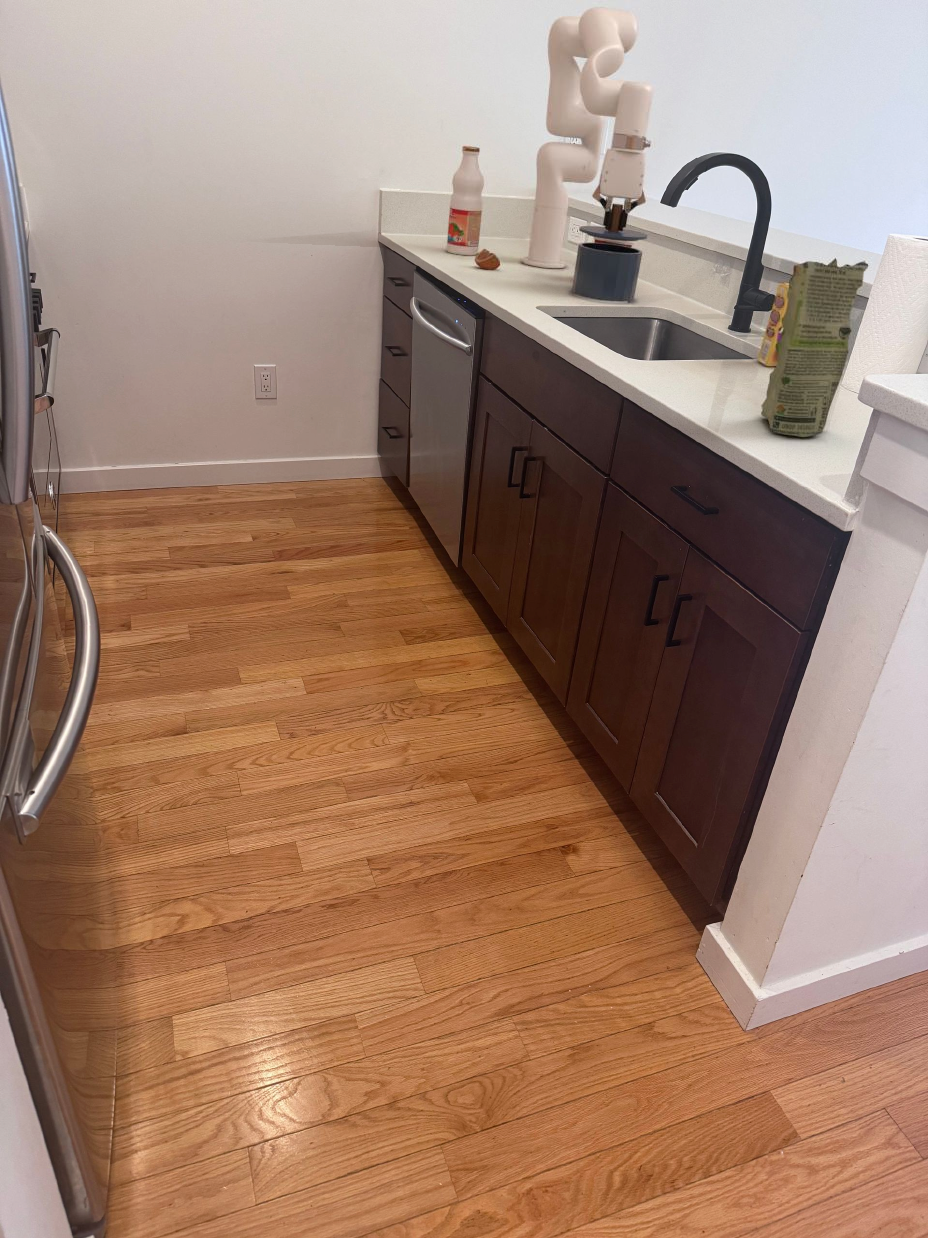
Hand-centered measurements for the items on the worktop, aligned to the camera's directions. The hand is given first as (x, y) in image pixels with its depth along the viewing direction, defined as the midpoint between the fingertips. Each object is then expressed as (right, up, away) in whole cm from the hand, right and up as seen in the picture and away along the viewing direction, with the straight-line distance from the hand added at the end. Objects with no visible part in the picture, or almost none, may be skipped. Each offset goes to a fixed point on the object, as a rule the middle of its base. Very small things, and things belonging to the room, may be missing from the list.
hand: (613, 228), depth 213 cm
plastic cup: (+2, -6, +22) cm, 23 cm away
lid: (0, -1, 0) cm, 1 cm away
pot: (-1, -13, +8) cm, 16 cm away
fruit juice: (-37, +14, +49) cm, 63 cm away
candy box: (+27, -44, -38) cm, 64 cm away
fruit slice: (-30, 0, +26) cm, 40 cm away
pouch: (+15, -65, -75) cm, 100 cm away
